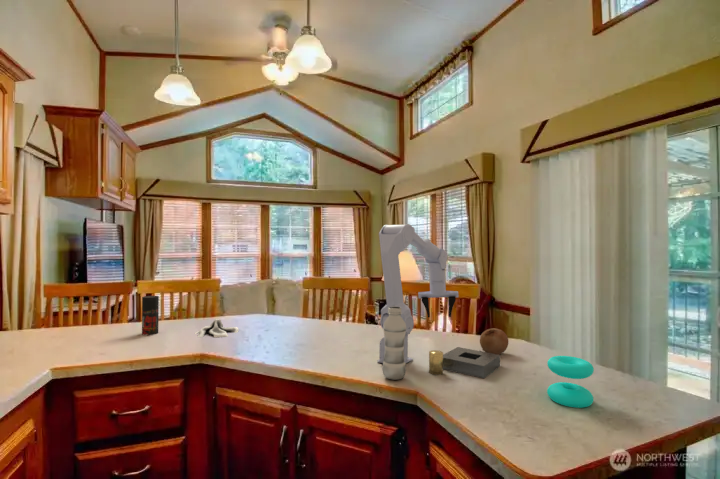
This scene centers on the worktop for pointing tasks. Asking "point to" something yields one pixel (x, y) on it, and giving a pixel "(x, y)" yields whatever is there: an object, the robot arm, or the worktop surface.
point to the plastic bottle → (394, 345)
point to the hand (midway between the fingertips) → (439, 316)
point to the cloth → (216, 329)
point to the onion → (494, 341)
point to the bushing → (436, 362)
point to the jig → (471, 362)
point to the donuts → (568, 391)
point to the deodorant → (150, 315)
